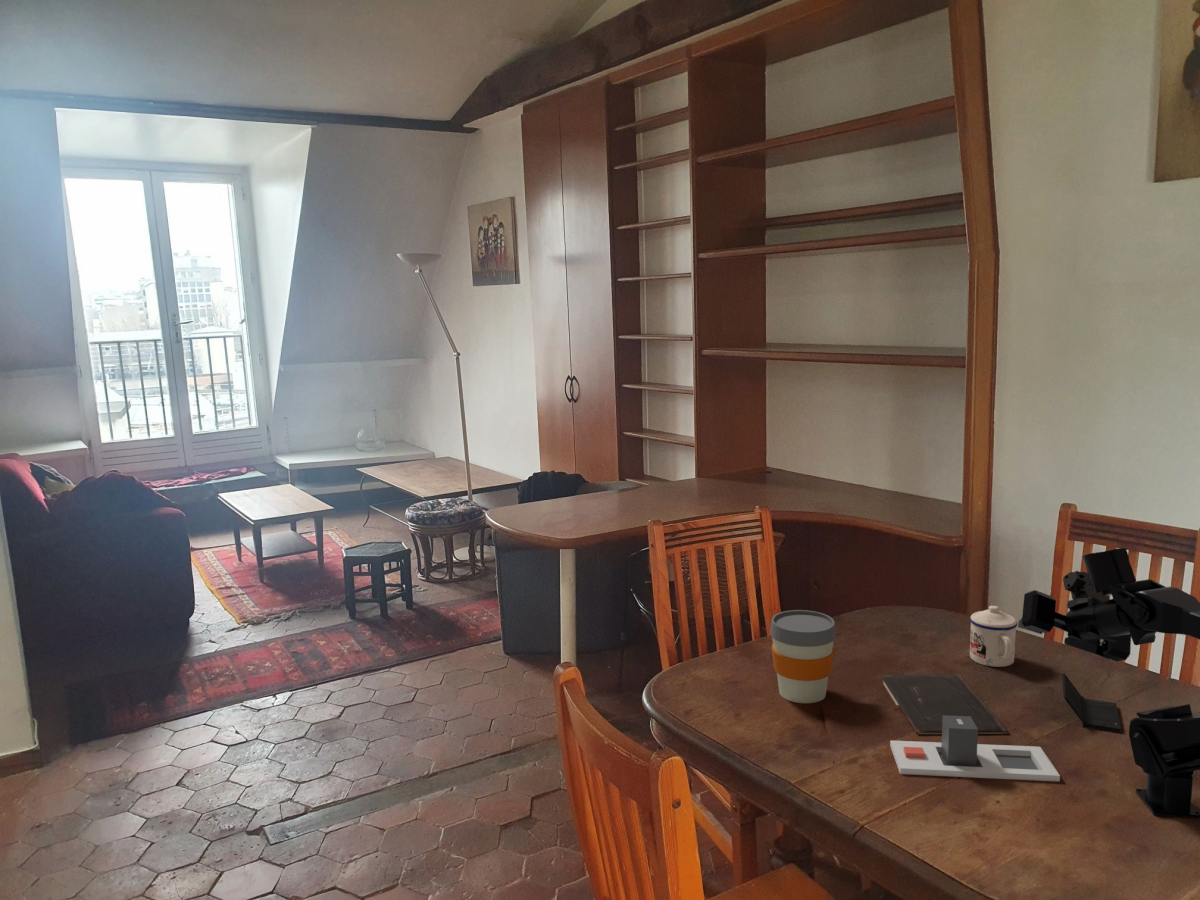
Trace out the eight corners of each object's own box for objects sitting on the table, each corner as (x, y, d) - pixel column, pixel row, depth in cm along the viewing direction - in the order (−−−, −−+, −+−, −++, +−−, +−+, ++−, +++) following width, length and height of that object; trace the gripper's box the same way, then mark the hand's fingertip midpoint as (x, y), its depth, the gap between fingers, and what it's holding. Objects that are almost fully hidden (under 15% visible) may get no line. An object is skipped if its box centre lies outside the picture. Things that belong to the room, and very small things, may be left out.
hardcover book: (916, 743, 152) (916, 731, 151) (880, 685, 174) (881, 675, 174) (1009, 743, 151) (1010, 730, 150) (962, 685, 173) (962, 674, 173)
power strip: (1059, 787, 136) (1060, 771, 135) (836, 776, 141) (836, 760, 140) (1039, 757, 144) (1040, 742, 144) (830, 748, 150) (830, 733, 149)
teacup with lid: (961, 651, 188) (963, 600, 186) (1002, 650, 188) (1004, 598, 186) (986, 674, 176) (988, 620, 174) (1030, 673, 176) (1033, 618, 174)
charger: (976, 769, 139) (978, 728, 138) (947, 768, 140) (949, 727, 139) (968, 755, 144) (970, 715, 143) (941, 754, 144) (942, 714, 143)
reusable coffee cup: (802, 674, 180) (802, 605, 177) (849, 696, 169) (850, 623, 167) (756, 690, 173) (756, 618, 170) (802, 713, 162) (803, 638, 160)
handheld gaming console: (1135, 726, 151) (1096, 677, 152) (1097, 747, 153) (1060, 699, 154) (1117, 705, 162) (1081, 660, 163) (1082, 725, 164) (1047, 681, 165)
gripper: (1162, 590, 142) (1091, 607, 156) (1061, 552, 140) (999, 572, 154) (1159, 656, 137) (1087, 667, 152) (1056, 617, 136) (993, 632, 150)
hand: (1042, 633), depth 152 cm, fingers open, 9 cm apart
